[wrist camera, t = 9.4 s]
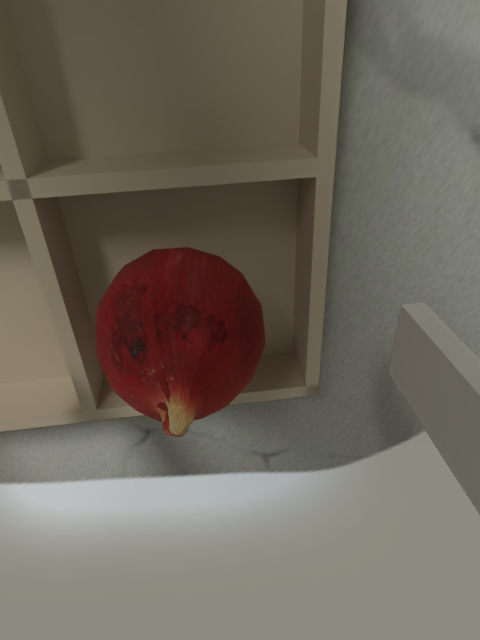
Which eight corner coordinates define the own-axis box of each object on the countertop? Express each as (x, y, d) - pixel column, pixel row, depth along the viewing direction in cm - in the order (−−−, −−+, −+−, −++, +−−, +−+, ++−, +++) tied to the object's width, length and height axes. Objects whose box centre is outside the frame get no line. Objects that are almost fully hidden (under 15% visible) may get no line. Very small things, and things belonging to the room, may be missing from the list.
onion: (86, 261, 17) (10, 401, 11) (206, 187, 16) (206, 293, 9) (170, 357, 20) (151, 513, 14) (278, 300, 19) (315, 443, 12)
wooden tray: (-111, 399, 20) (-152, 449, 18) (-541, -261, 10) (-797, -370, 7) (302, 354, 22) (318, 394, 19) (328, -258, 11) (372, -347, 9)
